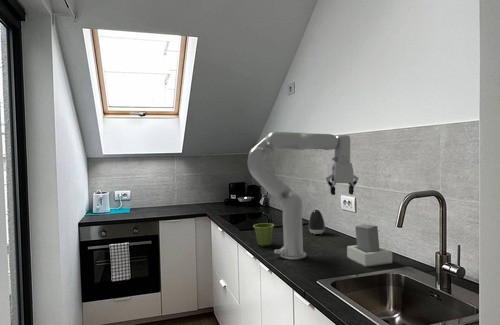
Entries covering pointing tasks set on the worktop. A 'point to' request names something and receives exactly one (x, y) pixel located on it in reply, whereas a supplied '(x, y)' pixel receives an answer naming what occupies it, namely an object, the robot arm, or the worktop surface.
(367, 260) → the box
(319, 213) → the black rounded dome
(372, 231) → the skincare box
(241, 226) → the worktop surface
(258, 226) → the plant pot
